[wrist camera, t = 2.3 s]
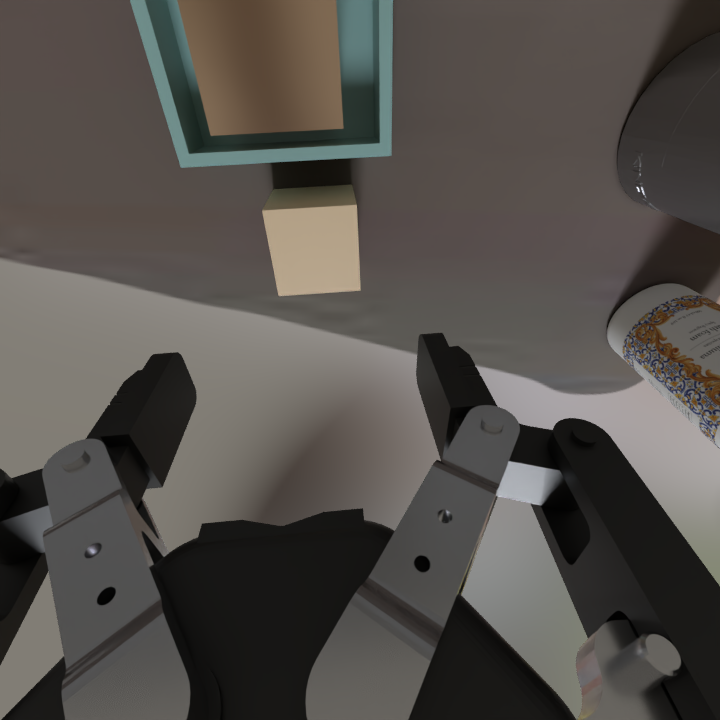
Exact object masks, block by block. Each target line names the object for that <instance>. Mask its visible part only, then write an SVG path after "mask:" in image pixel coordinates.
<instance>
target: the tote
mask: <svg viewBox="0 0 720 720" xmlns="http://www.w3.org/2000/svg"><path fill="white" fill-rule="evenodd" d="M130 2H131V5H132V8H133V12H134V15H135V18H136V21H137V25H138V28H139V31H140V35H141V38H142V41H143V44H144V48H145V51H146V54H147V58H148V61H149V64H150V67H151V71H152V74H153V77H154V81H155V84H156V87H157V90H158V94H159V97H160V100H161V104H162V107H163V110H164V113H165V117H166V120H167V123H168V127H169V130H170V133H171V137H172V140H173V143H174V146H175V150H176V153H177V156H178V160H179V163H180V166H181V168H184V167H201V166H219V165H237V164H254V163H272V162H290V161H307V160H325V159H343V158H361V157H378V156H391V134H392V43H393V0H336V6H337V23H338V41H339V58H340V76H341V93H342V111H343V128H344V129H328V130H310V131H291V132H273V133H254V134H236V135H217V136H211V135H210V131H209V127H208V123H207V119H206V115H205V111H204V107H203V103H202V99H201V94H200V90H199V86H198V82H197V78H196V74H195V70H194V66H193V62H192V58H191V54H190V50H189V46H188V42H187V38H186V34H185V30H184V26H183V22H182V18H181V14H180V10H179V6H178V2H177V0H130Z"/></svg>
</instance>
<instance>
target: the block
mask: <svg viewBox="0 0 720 720" xmlns="http://www.w3.org/2000/svg"><path fill="white" fill-rule="evenodd" d="M177 2H178V6H179V10H180V14H181V18H182V22H183V26H184V30H185V34H186V38H187V42H188V46H189V50H190V54H191V58H192V62H193V66H194V70H195V74H196V78H197V82H198V86H199V90H200V94H201V99H202V103H203V107H204V111H205V115H206V119H207V123H208V127H209V131H210V135H211V136H217V135H236V134H254V133H273V132H291V131H310V130H328V129H344V128H343V111H342V93H341V76H340V58H339V41H338V23H337V6H336V0H177Z"/></svg>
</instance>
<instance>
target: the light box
mask: <svg viewBox="0 0 720 720" xmlns="http://www.w3.org/2000/svg"><path fill="white" fill-rule="evenodd" d="M262 212H263V217H264V222H265V228H266V233H267V238H268V243H269V248H270V253H271V258H272V264H273V269H274V274H275V279H276V284H277V289H278V294H279V296H287V295H302V294H316V293H331V292H346V291H360V268H359V245H358V221H357V204H356V199H355V195H354V191H353V186H352V185H335V186H318V187H301V188H284V189H273V191H272V193H271V195H270V197H269V199H268V200H267V202H266V204H265V206H264V208H263V210H262Z"/></svg>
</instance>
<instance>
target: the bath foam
mask: <svg viewBox="0 0 720 720" xmlns="http://www.w3.org/2000/svg"><path fill="white" fill-rule="evenodd" d="M607 338H608V342H609V344H610V346H611V347H612V348H613V350H614V351H616V352H617V353H618V354H619V355H620V356H621V357H622V358H623V359H624V360H625V361H626V362H627V363H628V364H629V365H630V366H631V367H632V368H633V369H634V370H636V371H637V372H638V373H639V374H640V375H641V376H642V377H643V378H644V379H645V380H646V381H647V382H648V383H650V384H651V385H652V386H653V387H654V388H655V389H656V390H657V391H658V392H659V393H660V394H661V395H662V396H663V397H665V398H666V399H667V400H668V401H669V402H670V403H671V404H672V405H673V406H674V407H675V408H676V409H678V410H679V411H680V412H681V413H682V414H683V415H684V416H685V417H686V418H687V419H688V420H689V421H690V422H691V423H692V424H694V425H695V426H696V427H697V428H698V429H699V430H700V431H701V432H702V433H703V434H704V435H705V436H707V437H708V438H709V439H710V440H711V441H712V442H713V443H714V444H715V445H716V446H717V447H718V448H720V305H719V304H717V303H715V302H713V301H712V300H710V299H708V298H706V297H704V296H702V295H700V294H699V293H697V292H695V291H693V290H692V289H690V288H688V287H686V286H683V285H680V284H674V283H666V284H660V285H655V286H652V287H649V288H647V289H645V290H642V291H641V292H639V293H637V294H635V295H634V296H632V297H631V298H630V299H628V300H627V301H626V302H625V303H624V304H623V305H621V307H620V308H619V309H618V310H617V311H616V312H615V314H614V315H613V317H612V319H611V320H610V323H609V325H608V329H607Z"/></svg>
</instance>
